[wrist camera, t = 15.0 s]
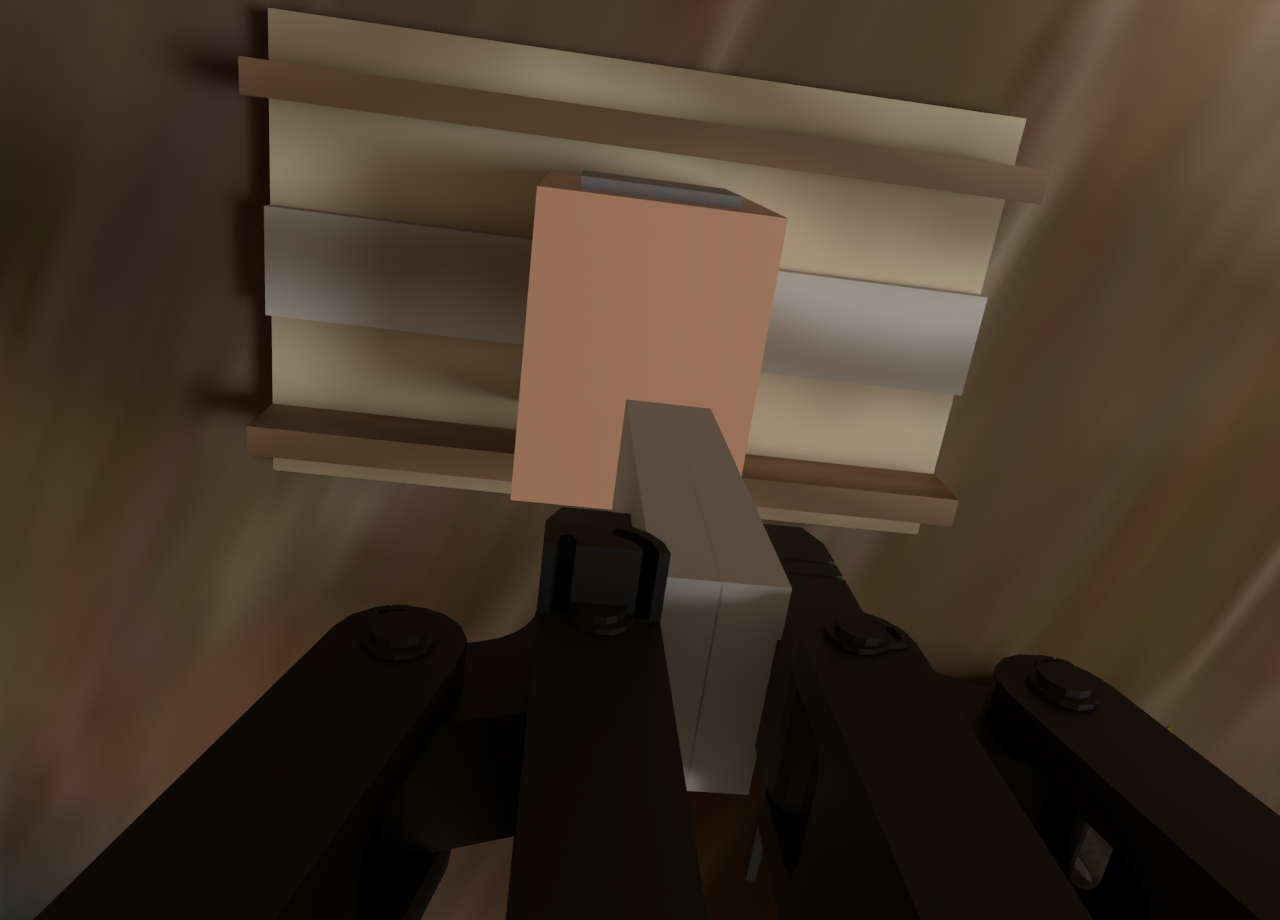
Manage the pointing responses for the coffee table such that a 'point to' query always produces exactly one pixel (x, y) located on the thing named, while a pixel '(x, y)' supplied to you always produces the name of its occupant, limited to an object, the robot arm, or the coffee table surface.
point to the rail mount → (502, 244)
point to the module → (636, 321)
